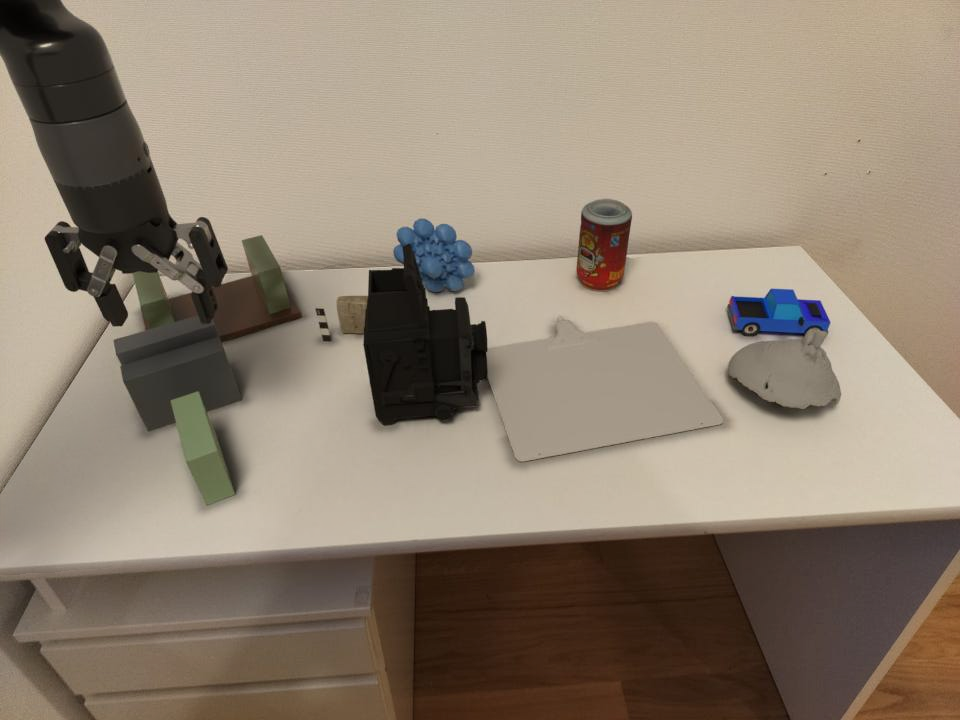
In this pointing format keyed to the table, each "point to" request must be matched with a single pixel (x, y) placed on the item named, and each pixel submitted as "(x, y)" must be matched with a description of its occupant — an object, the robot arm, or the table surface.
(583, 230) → the soda can
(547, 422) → the grey rectangular panel
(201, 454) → the green book
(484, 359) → the camera
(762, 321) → the toy car
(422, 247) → the grapes
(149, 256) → the robot arm
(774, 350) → the grey clay mound
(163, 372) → the grey grooved block
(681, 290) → the table surface
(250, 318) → the book rack
